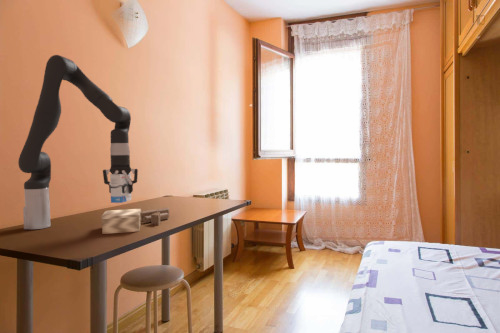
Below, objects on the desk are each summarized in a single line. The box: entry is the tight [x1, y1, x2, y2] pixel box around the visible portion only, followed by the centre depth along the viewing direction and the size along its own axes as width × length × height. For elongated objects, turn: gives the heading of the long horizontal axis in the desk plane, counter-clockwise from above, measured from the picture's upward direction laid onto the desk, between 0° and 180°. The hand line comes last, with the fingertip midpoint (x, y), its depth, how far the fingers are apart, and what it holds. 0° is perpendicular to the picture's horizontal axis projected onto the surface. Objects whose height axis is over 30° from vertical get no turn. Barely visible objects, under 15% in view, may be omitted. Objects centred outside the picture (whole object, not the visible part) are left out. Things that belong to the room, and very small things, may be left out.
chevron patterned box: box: [100, 208, 142, 235], centre depth 145 cm, size 15×15×7 cm
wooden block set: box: [140, 207, 170, 226], centre depth 162 cm, size 17×6×18 cm
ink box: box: [109, 172, 132, 204], centre depth 144 cm, size 8×5×12 cm, turn 169°
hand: (121, 193), depth 144 cm, fingers closed on ink box, 6 cm apart
